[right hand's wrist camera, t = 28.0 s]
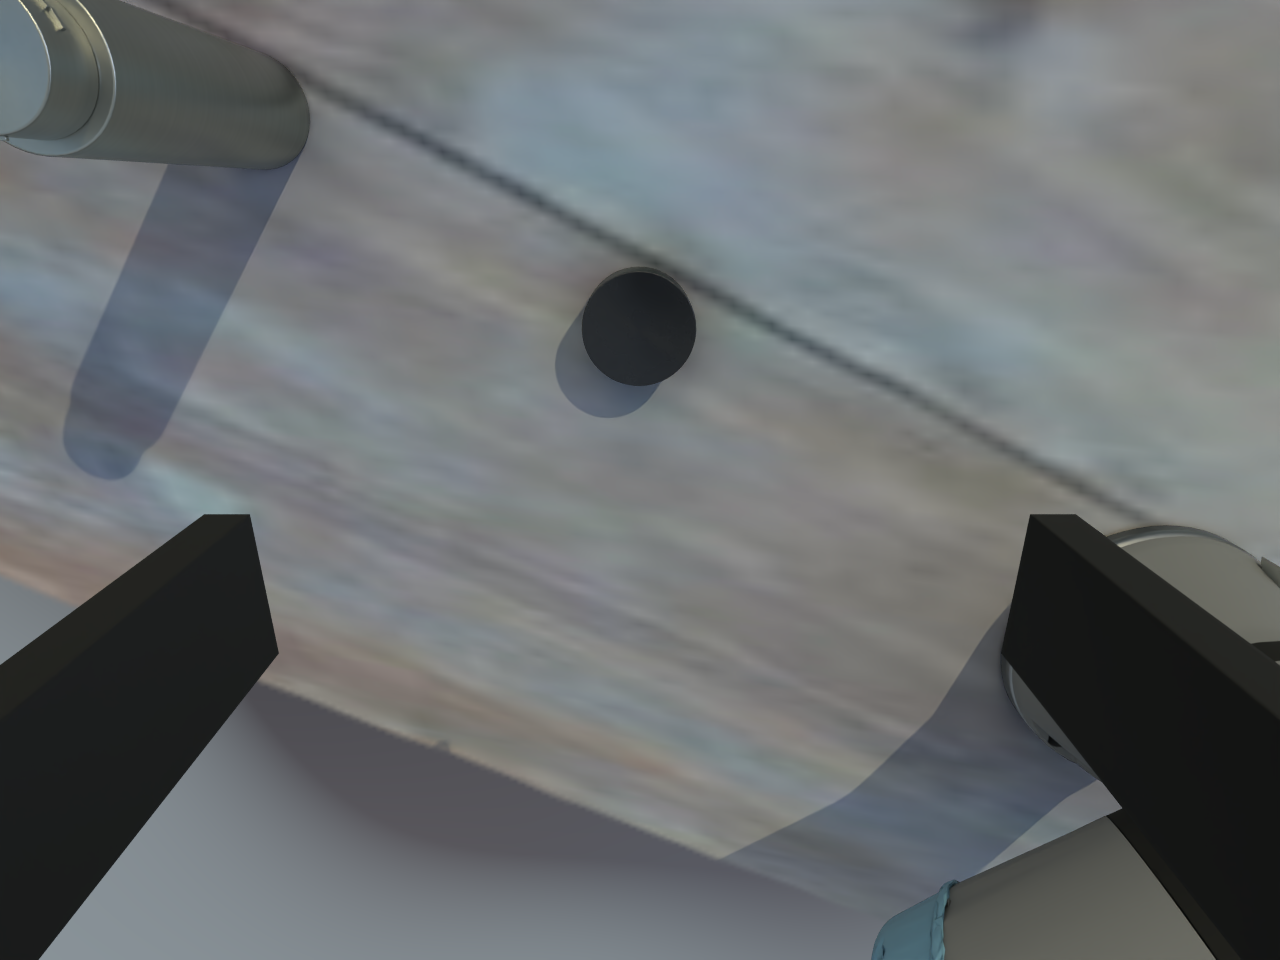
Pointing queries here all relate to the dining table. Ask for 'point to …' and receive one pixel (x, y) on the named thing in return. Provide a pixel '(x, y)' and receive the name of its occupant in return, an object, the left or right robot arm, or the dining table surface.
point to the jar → (141, 89)
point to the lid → (639, 326)
